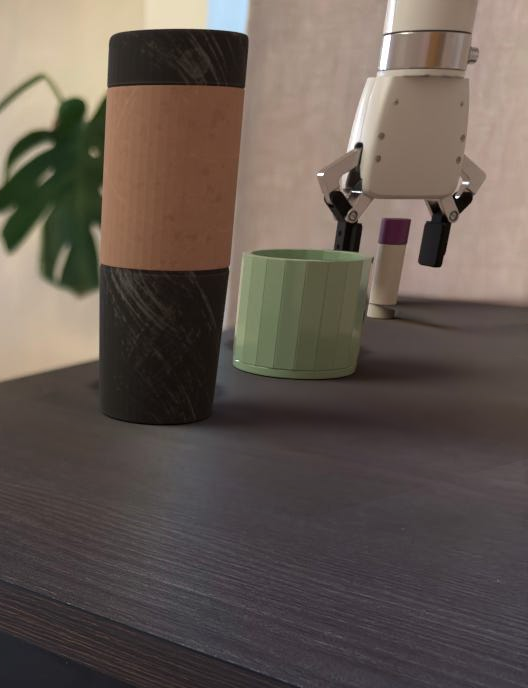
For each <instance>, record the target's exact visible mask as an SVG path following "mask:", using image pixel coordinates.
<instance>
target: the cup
mask: <svg viewBox="0 0 528 688" xmlns="http://www.w3.org/2000/svg"><path fill="white" fill-rule="evenodd" d="M374 259H375V256H373V255H371V254H369V253H363V252H359V253H358V252H350V251H340V250H334V249H326V248H291V247H289V248H288V247H284V248H283V247H281V248H280V247H279V248H276V247H275V248H274V247H273V248H255V249H247V250H245V251H243V252H242V255H241V264H240V274H239V285H238V294H237V295H238V296H237V305H236V306H237V307H236V315H235V316H236V317H235V327H234V336H233V347H232V365H233V367H234V368H236V369H238V370H240V371H243V372H245V373H250V374H252V375H253V374H254V375H258V376H259V375H260V376H264V377H270V378H278V379H279V378H280V379H291V380H292V379H293V380H328V379H329V380H331V379H338V378H343V377H347V376H350V375H353V374H355V372H356V371H357V363H358V361H359V355H360V349H361V341H362V337H363V336H362V335H363V331H364V330H363V329H364V323H365V317H366V310H367V306H368V305H367V304H368V300H369V299H368V297H369V291H370V287H371V285H370V284H371V279H372V273H373V266H374Z"/></svg>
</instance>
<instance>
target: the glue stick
mask: <svg viewBox="0 0 528 688" xmlns="http://www.w3.org/2000/svg"><path fill="white" fill-rule="evenodd" d="M411 223H412V219H411V218H407V217H405V218H403V217H383V218H381V219H380V227H379V233H378V238H377V239H378V240H377V243H378V244H377V249H376V254H375V255H376V256H375V262H374V269H373V274H372V281H371V285H370V287H371V288H370V294H369V299H368V305H367V306H368V307H367V313H366V317H368V318H372V319H377V320H378V319H381V320H387V319H388V320H390V319H393V318H395V314H396V310H395V309H393V308H389V307H385V306H388V305H389V306H391V305H392V306H393V305H397V301H398V296H399V291H400V284H401V278H402V272H403V267H404V261H405V256H406V250H407V245H408V240H409V235H410V229H411ZM381 305H383V306H381Z"/></svg>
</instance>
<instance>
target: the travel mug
mask: <svg viewBox="0 0 528 688" xmlns="http://www.w3.org/2000/svg"><path fill="white" fill-rule="evenodd" d="M249 38H250V37H249V35H247V34H245V33H243V32H239V31H233V30H224V29H212V28H211V29H209V28H208V29H207V28H150V29H149V28H148V29H137V30H136V29H135V30H134V29H133V30H126V31H120V32H116V33H113V34H112V35H111V36H110V37H109V39H108V53H107V54H108V55H107V80H106V81H107V82H106V87H107V88H106V103H105V126H104V127H105V128H104V152H103V174H102V175H103V176H102V198H101V220H100V221H101V222H100V242H99V243H100V244H99V263H100V266H99V276H98V277H99V281H98V282H99V285H98V286H99V293H98V294H99V298H98V301H99V302H98V303H99V304H98V305H99V306H98V307H99V311H98V313H99V315H98V318H99V319H98V322H99V323H98V406H99V410H100V412H101V413H102V414H103V415H105V416H107V417H110V418H113V419H116V420H120V421H123V422H129V423H138V424H145V425H146V424H147V425H177V424H187V423H195V422H199V421H202V420H205V419H207V418H208V417H209V416H211V414H212V411H213V408H214V407H213V405H214V399H215V392H216V384H217V376H218V368H219V360H220V354H221V353H220V351H221V344H222V335H223V326H224V318H225V312H226V311H225V310H226V303H227V293H228V288H229V287H228V286H229V280H230V279H229V277H230V266H231V262H232V261H231V259H232V248H233V247H232V246H233V238H234V226H235V213H236V201H237V191H238V190H237V187H238V177H239V167H240V166H239V165H240V153H241V140H242V128H243V117H244V105H245V95H246V94H245V93H246V90H245V88H246V82H247V71H248V70H247V69H248V57H249V45H250V44H249V43H250V39H249Z"/></svg>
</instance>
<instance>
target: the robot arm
mask: <svg viewBox="0 0 528 688" xmlns="http://www.w3.org/2000/svg"><path fill="white" fill-rule="evenodd" d="M478 3H479V0H387V5H386V10H385V17H384V24H383V29H382V30H383V31H382V37H381V43H380V50H379V57H378V64H377V72H376V76H372V77H371V76H369V77H367V79H366V82H365V84H364V87H363V90H362V92H361V94H360V95H361V96H360V98H359V102H358V104H357V108H356V111H355V115H354V119H353V123H352V127H351V131H350V135H349V141H348V145H347V150H346V153H345V154H343V155H342V156H340V157H339V158H337V159H335V160H334V161H332V162H330V163H329V164H327V165H326V166H324V167H323V168H321V169H319V170H318V172H317V174H316V178H317V181H318V184H319V187H320V190H321V193H322V195H323V201H324V204H325V205H326V207H327V208H328V209H329V211H330V212H331V214H332V219H333V220H334V221H335V222H337V223H336V231H335V237H334V245H333V250H340V251H350V252H358V253H360V246H361V240H362V236H363V235H362V234H363V229H364V228H363V223H362V222H358V221H359V219H360V217H361V216H362V215H363V214H364V213H365V211H366V210H367V209H368V207H369V206H370V205H371V203H372V202H373V201H374V200H375V199H376V200H423V202H424V203H425V205H426V208H427V211H428V212H429V215H430V217H431V220H426V221H425V223H424V225H423V231H422V236H421V240H420V241H421V243H420V248H419V252H418V258H417V263H418V264H419V265H420V266H424V267H429V268H435V269H436V268H437V269H438V268H441V267H442V266H443V262H444V257H445V256H446V253H447V248H448V243H449V238H450V233H451V227H452V224H455V223H456V222H458V220H459V219H460V215H461V214H462V213H463V212H464V211H465V210H466V209H467V208H468V207H469V205H471V204H472V202H473V200H474V196H475V195H476V194H477V193H478V191H479V189H480V188H481V187H482V185H483V184H484V183H485V181H486V178H487V174H486V172H485V171H484V170H483V169H481V168H480V167H479V166H478V164H476V163H475V162H474V161H473V160H472V159H470V157H468V156H467V155H466V154H465V150H466V143H467V136H468V125H469V113H470V112H469V111H470V78H466V77H465V75H466V72H467V68H468V65H475V63H477V61H478V59H479V56H480V50H479V47H477V46H472V42H473V41H472V40H473V30H474V27H475V22H476V21H475V20H476V14H477V9H478ZM460 178H461V183H460V185H459V187H458V184H459V181H460ZM340 179H341V185H340ZM340 186H341V188H340ZM457 187H458V190H457ZM341 190H342V191H341ZM456 190H457V191H456ZM344 193H345V194H346V195H345V194H344Z"/></svg>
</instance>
